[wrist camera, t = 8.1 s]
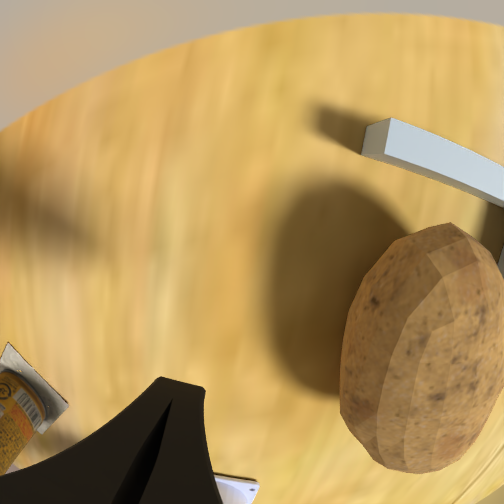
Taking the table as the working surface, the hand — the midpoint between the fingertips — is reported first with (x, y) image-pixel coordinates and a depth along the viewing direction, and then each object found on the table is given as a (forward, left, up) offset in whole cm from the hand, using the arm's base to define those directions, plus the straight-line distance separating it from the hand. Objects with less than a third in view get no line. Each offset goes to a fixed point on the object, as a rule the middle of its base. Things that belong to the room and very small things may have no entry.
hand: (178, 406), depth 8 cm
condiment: (-15, +16, -10) cm, 24 cm away
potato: (0, -11, -10) cm, 15 cm away
